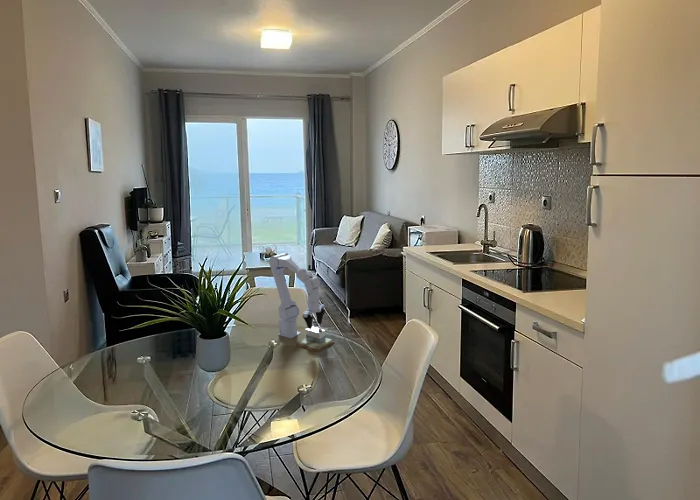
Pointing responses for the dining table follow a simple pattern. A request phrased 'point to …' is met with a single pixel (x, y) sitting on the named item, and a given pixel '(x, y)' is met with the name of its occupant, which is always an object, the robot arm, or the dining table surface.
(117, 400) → the dining table surface
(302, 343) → the stand
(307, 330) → the housing
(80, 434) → the dining table surface
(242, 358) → the dining table surface
